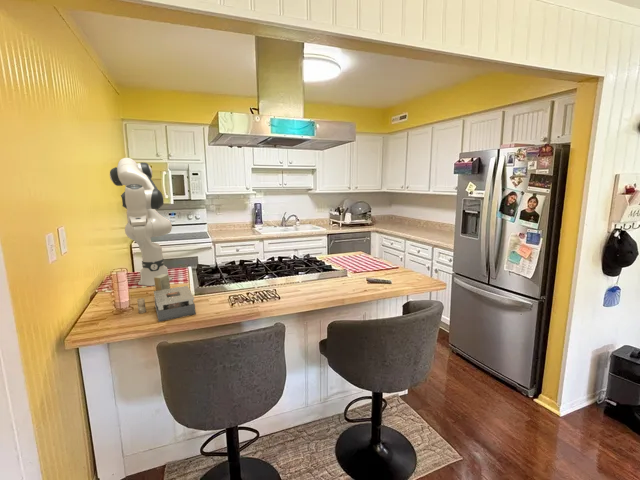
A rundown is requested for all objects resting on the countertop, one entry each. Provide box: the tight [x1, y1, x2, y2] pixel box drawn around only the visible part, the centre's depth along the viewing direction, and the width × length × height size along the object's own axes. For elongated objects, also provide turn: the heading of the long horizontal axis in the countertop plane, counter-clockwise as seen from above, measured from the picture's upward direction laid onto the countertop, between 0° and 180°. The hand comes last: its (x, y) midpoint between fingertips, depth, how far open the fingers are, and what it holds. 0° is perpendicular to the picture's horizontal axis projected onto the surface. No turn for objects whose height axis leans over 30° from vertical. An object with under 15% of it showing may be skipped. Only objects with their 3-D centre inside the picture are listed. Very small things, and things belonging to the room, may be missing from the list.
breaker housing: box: [153, 285, 197, 323], centre depth 166 cm, size 20×16×8 cm
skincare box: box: [154, 273, 171, 291], centre depth 183 cm, size 6×4×12 cm
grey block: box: [136, 297, 147, 314], centre depth 165 cm, size 3×3×6 cm
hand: (140, 246), depth 166 cm, fingers open, 8 cm apart
